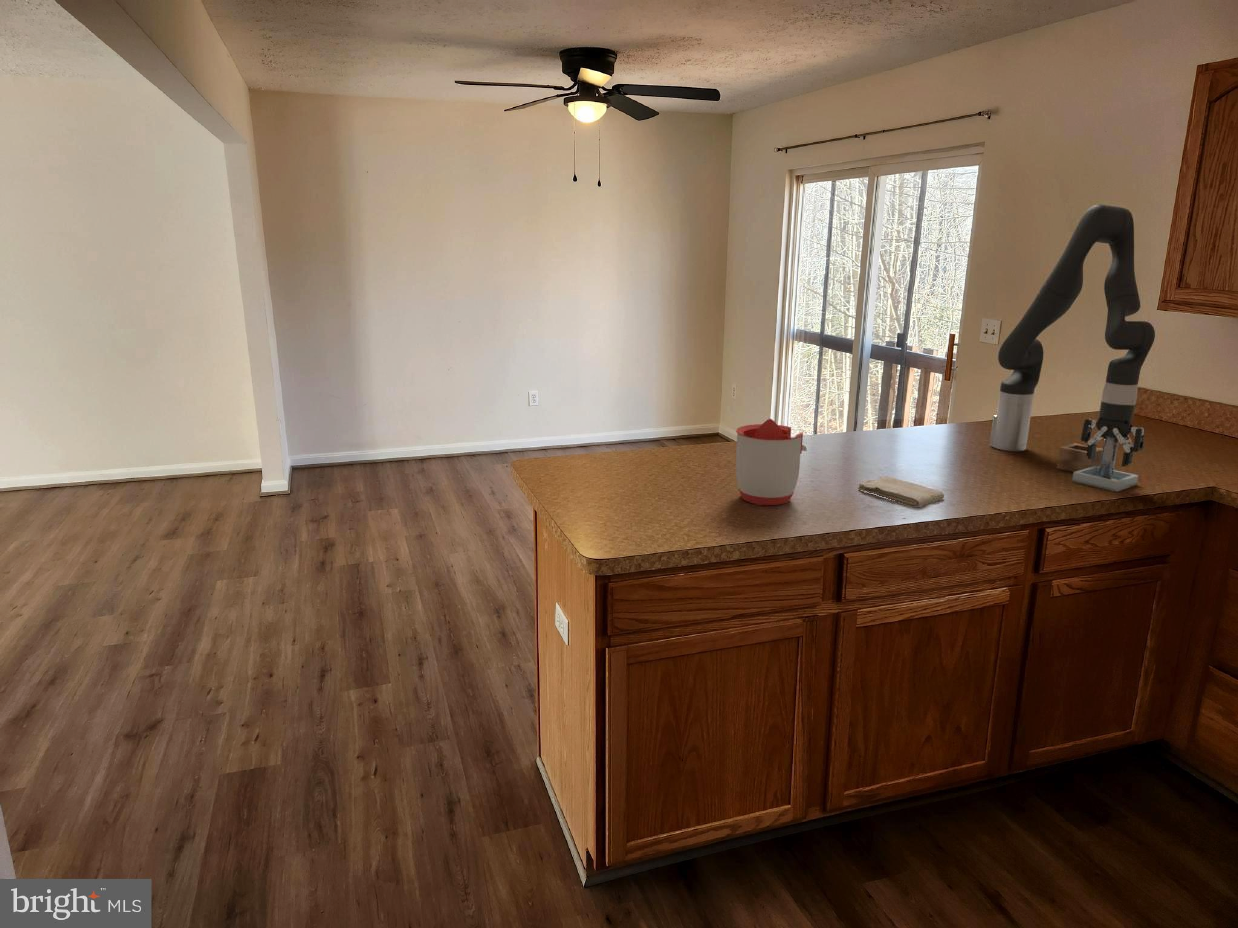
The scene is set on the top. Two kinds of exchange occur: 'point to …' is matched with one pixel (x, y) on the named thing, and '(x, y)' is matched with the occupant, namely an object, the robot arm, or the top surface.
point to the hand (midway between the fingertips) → (1107, 462)
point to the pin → (1108, 457)
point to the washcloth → (902, 491)
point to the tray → (1116, 484)
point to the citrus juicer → (767, 462)
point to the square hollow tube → (1077, 458)
